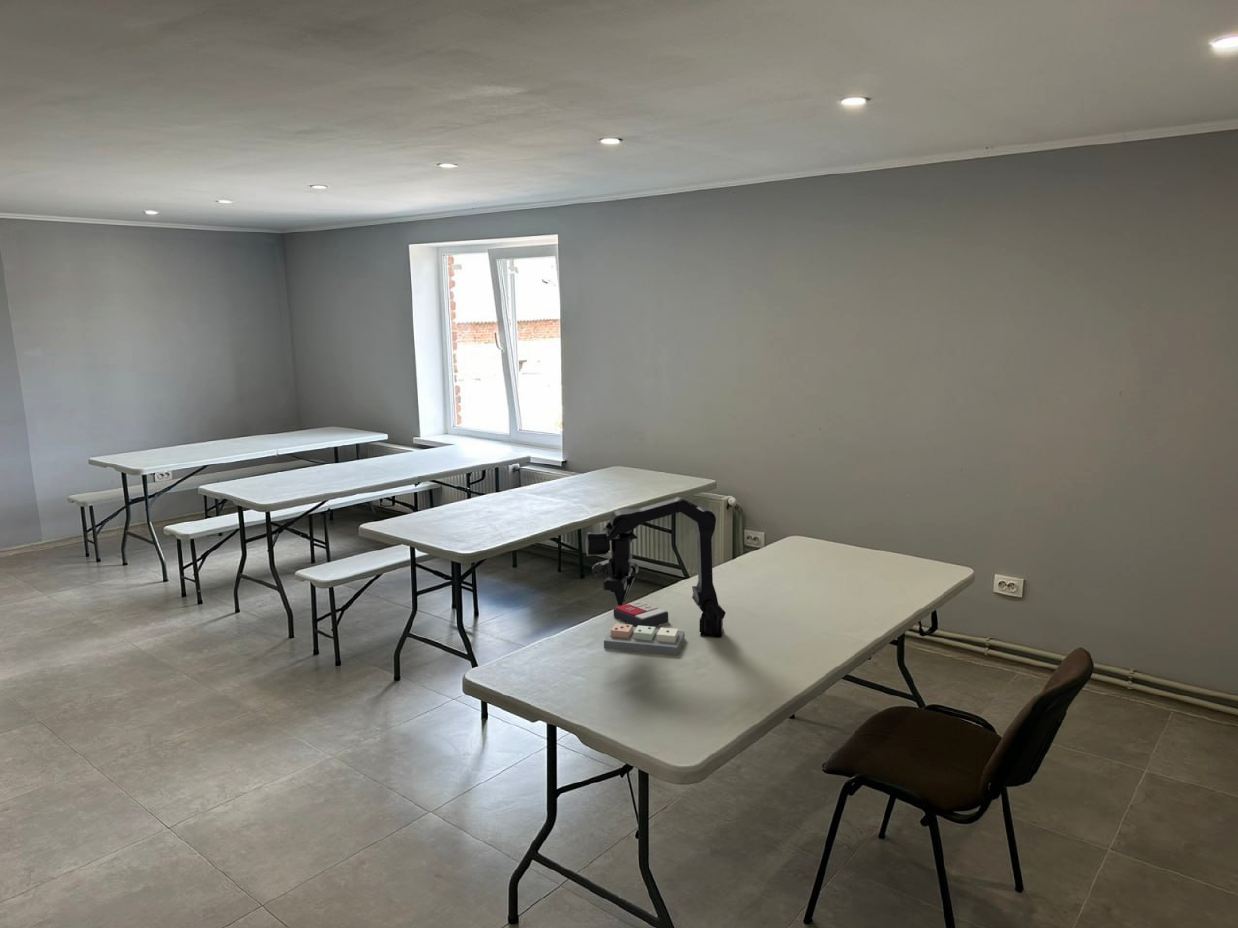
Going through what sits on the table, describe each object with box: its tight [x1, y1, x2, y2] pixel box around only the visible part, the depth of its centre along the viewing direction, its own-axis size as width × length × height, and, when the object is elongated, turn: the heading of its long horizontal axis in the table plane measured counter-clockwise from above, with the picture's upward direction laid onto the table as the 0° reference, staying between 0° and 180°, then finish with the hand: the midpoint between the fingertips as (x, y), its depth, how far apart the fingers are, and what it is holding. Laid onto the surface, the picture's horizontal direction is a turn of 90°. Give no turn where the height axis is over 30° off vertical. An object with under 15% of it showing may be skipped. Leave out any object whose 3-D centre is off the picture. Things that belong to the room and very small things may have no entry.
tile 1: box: [657, 626, 679, 643], centre depth 237 cm, size 5×5×3 cm
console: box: [603, 626, 685, 656], centre depth 240 cm, size 22×12×2 cm, turn 75°
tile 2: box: [634, 625, 656, 641], centre depth 239 cm, size 5×5×3 cm
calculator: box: [613, 600, 669, 628], centre depth 258 cm, size 11×4×15 cm
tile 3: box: [610, 623, 634, 639], centre depth 241 cm, size 5×5×3 cm
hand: (621, 603), depth 239 cm, fingers open, 3 cm apart
